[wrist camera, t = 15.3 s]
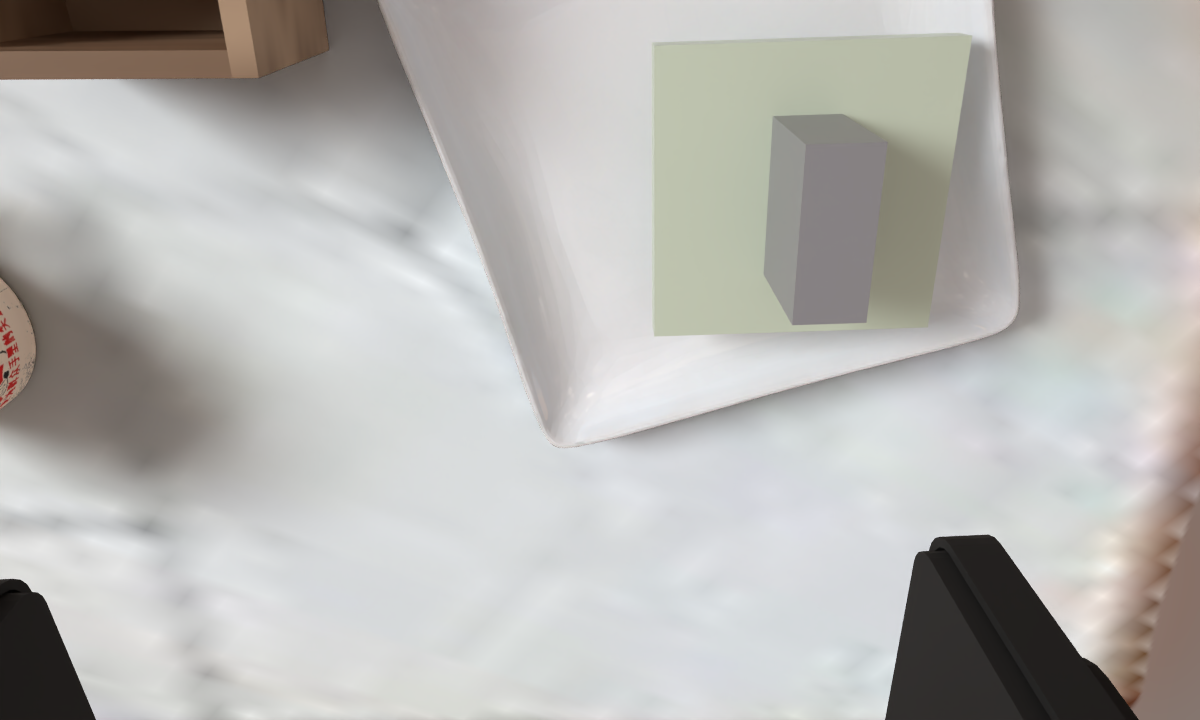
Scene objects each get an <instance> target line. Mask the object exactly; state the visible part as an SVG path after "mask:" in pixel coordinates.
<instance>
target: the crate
mask: <svg viewBox="0 0 1200 720" xmlns="http://www.w3.org/2000/svg"><path fill="white" fill-rule="evenodd" d="M328 50H329V45H328V38H327V30H326V23H325V15H324V8H323V0H0V80H8V79H185V78H260V77H263V76H265V75H268V74H270V73H273V72H275V71H278V70H280V69H283V68H286V67H288V66H291V65H293V64H296V63H298V62H301V61H303V60H306V59H308V58H311V57H313V56H316V55H318V54H321V53H323V52H326V51H328Z"/></svg>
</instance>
